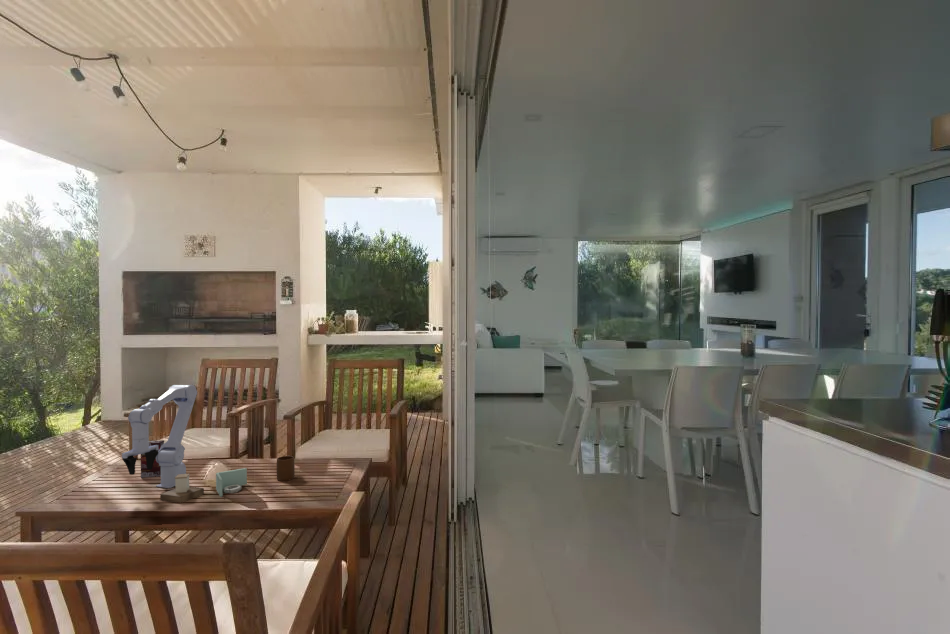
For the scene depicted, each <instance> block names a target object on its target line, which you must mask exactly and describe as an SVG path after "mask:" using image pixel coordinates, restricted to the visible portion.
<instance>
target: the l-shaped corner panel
mask: <svg viewBox="0 0 950 634" xmlns="http://www.w3.org/2000/svg"><path fill="white" fill-rule="evenodd" d="M247 472H248V470H247V467H244V468H237V469H232V470H225V471H220V472H216V473H215V490H216V491H217V494H218V495H219V497H220V498H222V497H223V496H224V494H233V493H237V492H238V493H239V491H241V490H242V486H246V485H245V484H247V485H248V478H247V477H248V475H247Z"/></svg>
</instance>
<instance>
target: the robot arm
mask: <svg viewBox="0 0 950 634" xmlns="http://www.w3.org/2000/svg"><path fill="white" fill-rule="evenodd" d="M197 390H198V389H197V388H196V386H195V385H194V384H173V385H170V386H169V387H168V390H166V392H164V393H163V394H161V396H159V397H158V398H150V399H148V401H147V402H146V403H145V404H142V405H141V406H140V407H139V408H135V409H133V410H130V413H129V414H128V416H127V419H128V422H129V423H130V428H131V439H132V440H131V443H132V444H131V446H132V448H131V449H130V450H128V451H125V452H121V459H122V461H123V463H124V464H125V465H126V467H127V468H126V469H127V470H128V473H129V475H131V476H132V475H133V476H134V475H135V473H136V464H137V460H138V459H137V458H138V457H135V456H139V455H141V454H143V453H145V456H146V464H147V469H150V470H151V469H152V467H153V463H154V460H155V458H156V461H157V463H159V466H161V476H160V484H156V485H155V487H156V488H157V487H158V488H164V489H171V488H174V487H175V477H176V476H177V475H178V474H187V467H186V464H185V463H184V462H183V461H184V458H185V450H186V448H185V446H184V445H183V444H182V441H183V439H184V438H183V437H184V435H185V432H186V429H187V427H188V426H187V425H188V424H189V421H190V417H191V413H192V411H193V407H194V404H195V401H196V398H197V395H198V391H197ZM171 401H173V402H174V403H175V404H176V405H177V406H178V410H177V412H176V415H175V417H174V421H173V424H172V427H171V430H170V432H169V436H168V438H167V440H166V441H165V442H164V444H163V445H161V447H160V450H159V447H158V445H153V446H149V441H150V439H149V437H150V434H149V432H150V430H149V429H150V428H149V423H150V422H151V420H152V419H153V417H154V416H155V415H156V414H157V413H159V412H160V411H162V410H163V408H164V407H163V406H165V405H166V404H168V403H170V402H171ZM156 450H159V451H156Z"/></svg>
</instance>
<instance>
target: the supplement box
mask: <svg viewBox="0 0 950 634" xmlns="http://www.w3.org/2000/svg"><path fill="white" fill-rule="evenodd" d="M164 443H165V440H163V439H162V440H149V446H153V445H158V447H159V450H160V447H161V445H163V444H164ZM159 450H156V451H159ZM155 476H156V477H161V466H159V463H157V461H156V458H155V460H154V463H153V467H152V469H151V470H150V469H147V464H146V456H145V453H143V454H140V478H150V477H151V478H155Z"/></svg>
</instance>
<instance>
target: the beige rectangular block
mask: <svg viewBox="0 0 950 634" xmlns="http://www.w3.org/2000/svg"><path fill="white" fill-rule="evenodd" d="M190 475H191V474H190V473H186V474H178V475H177V476H176V477H175V486H174V487H175V489H176V493H182V492H187V491H188V490H189V486H190Z"/></svg>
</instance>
